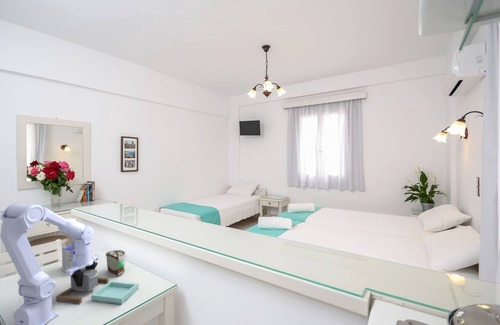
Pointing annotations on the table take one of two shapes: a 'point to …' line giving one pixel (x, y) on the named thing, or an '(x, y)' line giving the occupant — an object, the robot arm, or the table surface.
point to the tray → (115, 292)
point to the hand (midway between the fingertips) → (84, 282)
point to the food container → (116, 262)
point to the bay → (76, 300)
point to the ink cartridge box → (68, 257)
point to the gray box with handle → (86, 280)
